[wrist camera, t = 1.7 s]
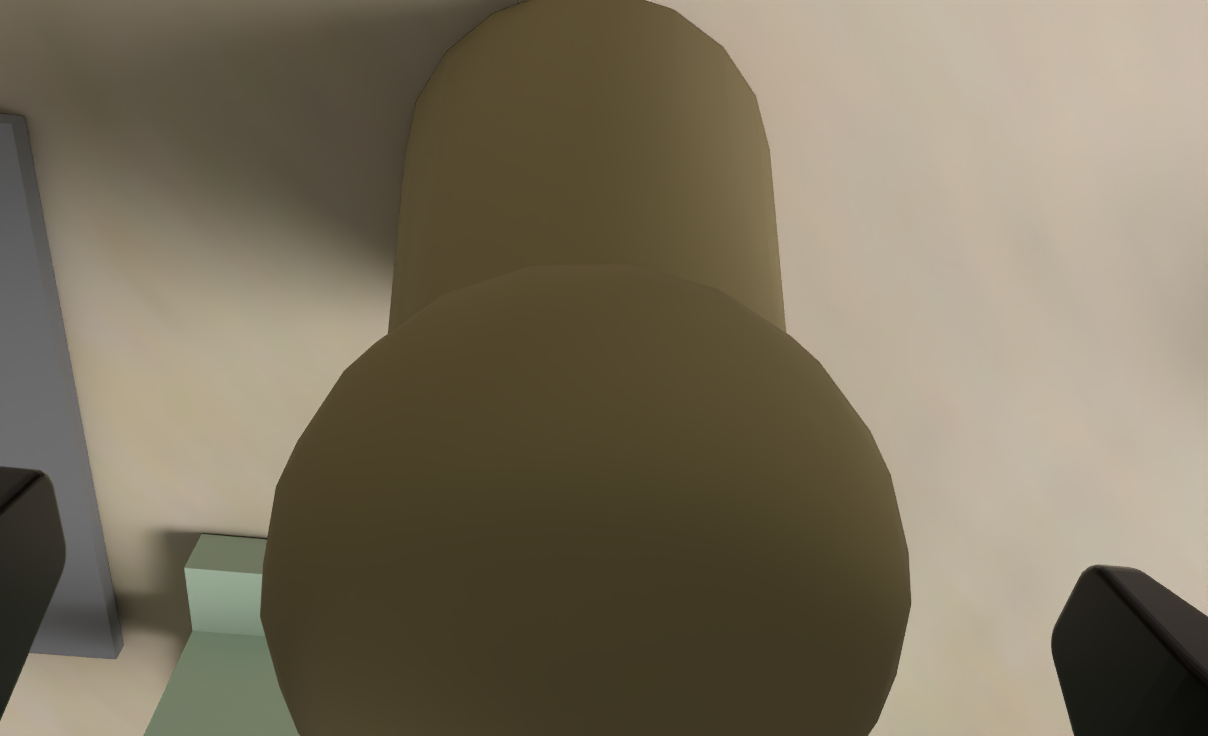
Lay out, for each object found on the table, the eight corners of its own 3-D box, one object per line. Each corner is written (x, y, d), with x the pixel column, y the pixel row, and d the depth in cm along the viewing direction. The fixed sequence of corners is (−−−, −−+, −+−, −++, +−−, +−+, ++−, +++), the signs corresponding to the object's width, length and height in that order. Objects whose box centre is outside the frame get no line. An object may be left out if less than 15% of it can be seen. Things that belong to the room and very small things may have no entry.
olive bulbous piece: (330, 185, 16) (-38, 765, 7) (581, -104, 14) (566, 146, 4) (592, 397, 18) (597, 1052, 9) (845, 177, 16) (1207, 739, 7)
